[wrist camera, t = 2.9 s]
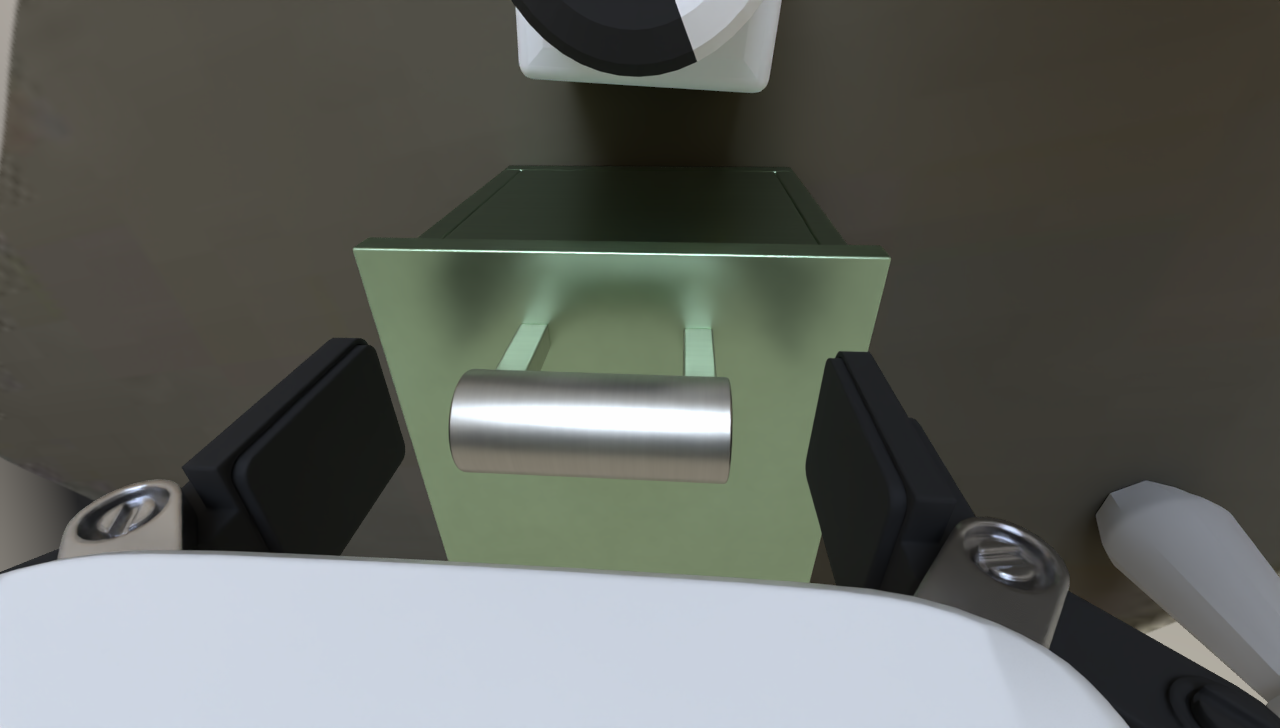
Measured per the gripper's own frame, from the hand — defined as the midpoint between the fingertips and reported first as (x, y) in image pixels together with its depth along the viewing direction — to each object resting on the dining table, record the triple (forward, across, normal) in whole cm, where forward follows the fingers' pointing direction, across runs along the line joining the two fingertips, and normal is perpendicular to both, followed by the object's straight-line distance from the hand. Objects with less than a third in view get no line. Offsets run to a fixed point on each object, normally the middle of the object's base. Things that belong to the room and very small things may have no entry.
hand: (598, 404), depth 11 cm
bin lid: (+3, 0, +6) cm, 7 cm away
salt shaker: (+15, -29, +17) cm, 37 cm away
